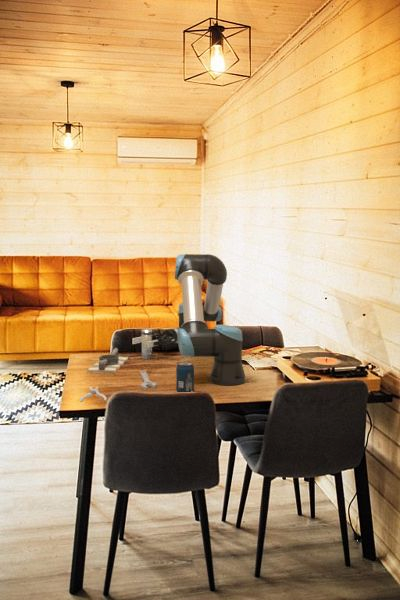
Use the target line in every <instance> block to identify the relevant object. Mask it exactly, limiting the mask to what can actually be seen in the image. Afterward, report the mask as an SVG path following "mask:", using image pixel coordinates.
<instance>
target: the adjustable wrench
mask: <svg viewBox="0 0 400 600" xmlns="http://www.w3.org/2000/svg"><path fill="white" fill-rule="evenodd" d="M139 374H140V377H141V379H142V381H143V382H142V383H141V384H140V389H141V390H145V391H148V390H149V388H152V389H156V388H157V386H158V385H157V382H155V381H154V382H153V381H151V380H150V378H149V375H148V372H147V371H146V370H139Z"/></svg>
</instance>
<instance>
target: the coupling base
mask: <svg viewBox="0 0 400 600" xmlns="http://www.w3.org/2000/svg"><path fill="white" fill-rule="evenodd" d="M118 351H119V349H118V347H115V348H114V349H113V350H112V352H111V353H110V354H104V355H100V356H99V359H98V360H97V362H95V363H94V364H92V365H91V366H90V367H89V368H88V369H87V371H86V372H87V373H91V372H93V373H94V374H112V375H113V374H115V373H117V371H119V369H120V368H121V367H122V366H123V365H125V363H126V362H128V360H129V359H130V358H129V356H119V352H118ZM93 373H92V374H93Z"/></svg>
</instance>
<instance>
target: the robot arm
mask: <svg viewBox="0 0 400 600" xmlns="http://www.w3.org/2000/svg"><path fill="white" fill-rule="evenodd" d="M175 259H176V260H175V268H174V279H175V280H176V281H178V283H179V285H181V291H182V292H181V293H182V303H180V304H179V305H178V327H174V328H173V327H172V328H168V329H165V330H164V331H163V332H162V333H156V332H155V333H152V341H149V342H147V347H148V348H149V347H152V348H153V347H157V346H163V347H164V346H167V345H172V344H173V345H174V344H178V350H179V352H180V355H181V356H182V357H185V358H209V357H212V358H213V365H212V367H211V370H210V373H209V381H210V382H211V383H212V384H215V385H219V386H238V385H241V384H244V383H245V382H246V373H245V369H244V367H243V366H244V365H243V362H242V361H243V357H242V356H243V341H244V340H243V331H242V329H240V328H238V327H236V326H234V325H233V326H232V325H228V324H215V325H214V328H209V326H208V324H207V322H212V323H214V322H220V321H221V320H222V315H223V312H222V311H223V310H222V308H221V307H220V303H221V297H222V291H223V287H224V284H225V283H226V281H227V277H228V271H227V268H226V266H225V264H224V262H223V261H222V260H221V259H220V258H219V257H218V256H216V255H214V254H210V253H209V254H208V253H207V254H201V253H200V254H199V253H198V254H197V253H196V254H195V253H193V254H191V253H190V254H188V253H185V254H183V253H182V254H178V255H177V257H176V258H175ZM205 280H206V281H207V284H206V292H205V298H204V305H203V296H202V294H203V293H202V284H203V282H204V281H205ZM140 343H141V344H142V334H140V335H139V337H132V345H136V344H140Z"/></svg>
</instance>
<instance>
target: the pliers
mask: <svg viewBox="0 0 400 600" xmlns="http://www.w3.org/2000/svg"><path fill="white" fill-rule="evenodd" d="M88 388H89V389H88V390H89V393H85V394H84V395H81V397H80V398H79V402H80V403H82V402H83V400H85V399H87V398H90V397H93V394H94V396H95V397H96V398H102V399H103V400H104V402H106V401H107V399H108V398H107V396H106V395H105V394H103V393H100V390H99V386H96V387H95V388H93V387H92V386H89V387H88Z"/></svg>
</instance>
